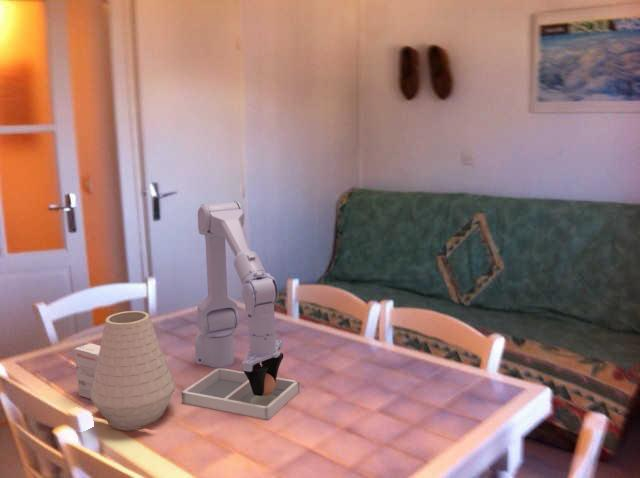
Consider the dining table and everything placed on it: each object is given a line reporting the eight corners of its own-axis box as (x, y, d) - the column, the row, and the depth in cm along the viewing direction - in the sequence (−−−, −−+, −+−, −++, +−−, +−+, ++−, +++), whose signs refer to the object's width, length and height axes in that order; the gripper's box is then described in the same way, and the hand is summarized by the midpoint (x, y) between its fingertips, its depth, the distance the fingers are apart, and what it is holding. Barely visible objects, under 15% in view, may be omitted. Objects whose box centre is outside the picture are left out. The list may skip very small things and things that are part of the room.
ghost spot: (245, 404, 144) (245, 403, 144) (259, 393, 150) (259, 392, 150) (270, 409, 142) (270, 408, 142) (284, 397, 147) (284, 396, 147)
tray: (182, 406, 146) (181, 392, 146) (218, 381, 160) (218, 367, 159) (268, 424, 137) (267, 408, 137) (299, 395, 151) (299, 381, 150)
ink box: (119, 395, 153) (115, 348, 150) (102, 403, 149) (97, 355, 146) (94, 388, 157) (90, 341, 155) (77, 395, 153) (72, 348, 151)
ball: (249, 397, 144) (248, 376, 143) (260, 388, 149) (259, 368, 148) (269, 401, 142) (268, 379, 141) (279, 392, 147) (278, 371, 146)
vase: (133, 446, 129) (123, 336, 125) (75, 426, 138) (65, 322, 134) (193, 411, 144) (187, 311, 139) (138, 395, 153) (130, 300, 148)
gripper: (261, 345, 134) (264, 406, 137) (293, 323, 147) (294, 380, 150) (232, 341, 137) (235, 401, 140) (265, 320, 150) (267, 375, 153)
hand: (264, 389), depth 145 cm, fingers closed on ball, 5 cm apart
